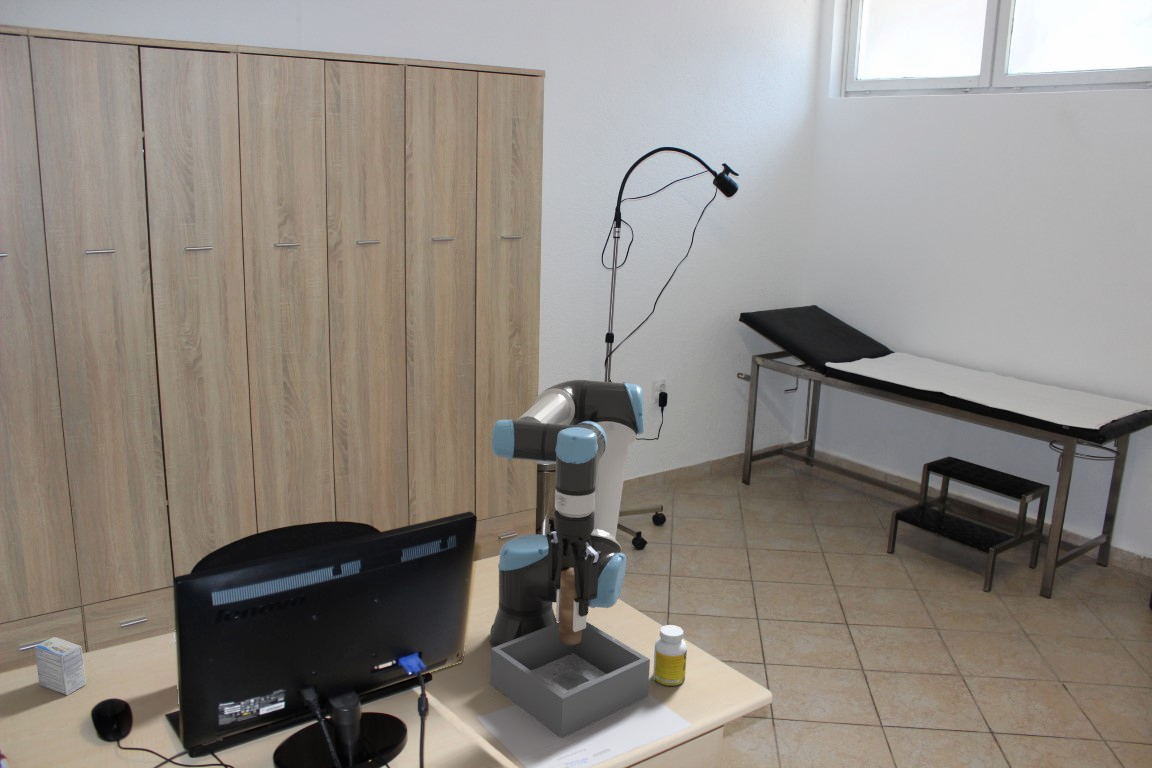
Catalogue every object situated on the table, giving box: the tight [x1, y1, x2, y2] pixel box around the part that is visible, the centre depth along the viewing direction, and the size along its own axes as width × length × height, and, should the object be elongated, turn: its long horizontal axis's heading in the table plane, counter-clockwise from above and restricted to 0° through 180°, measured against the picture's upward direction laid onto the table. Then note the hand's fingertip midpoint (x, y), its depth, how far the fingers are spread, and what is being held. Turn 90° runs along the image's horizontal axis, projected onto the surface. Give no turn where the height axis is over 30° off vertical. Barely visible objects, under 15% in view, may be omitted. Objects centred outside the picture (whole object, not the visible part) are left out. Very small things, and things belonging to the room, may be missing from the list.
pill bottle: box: [652, 624, 688, 688], centre depth 188 cm, size 6×6×12 cm
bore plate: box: [531, 653, 606, 693], centre depth 184 cm, size 14×14×2 cm
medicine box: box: [34, 636, 87, 696], centre depth 181 cm, size 8×4×9 cm, turn 65°
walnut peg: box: [559, 568, 582, 645], centre depth 179 cm, size 4×4×14 cm
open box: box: [490, 621, 651, 739], centre depth 183 cm, size 22×22×9 cm
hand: (570, 623), depth 180 cm, fingers closed on walnut peg, 4 cm apart
